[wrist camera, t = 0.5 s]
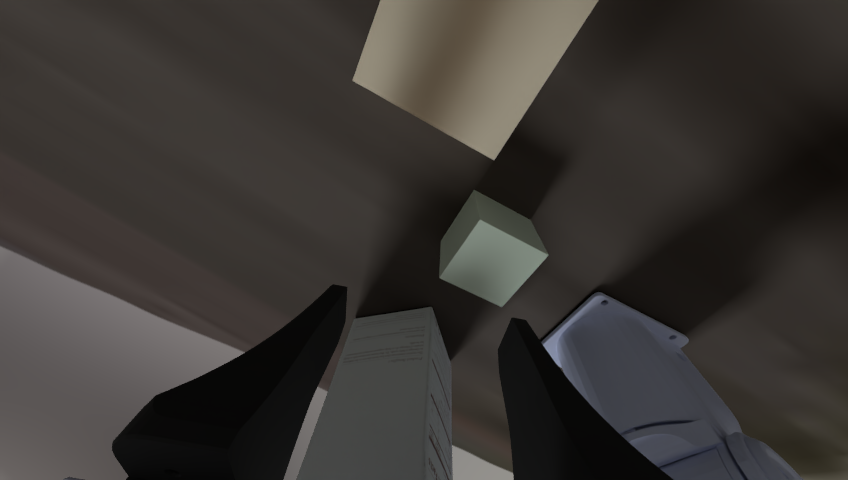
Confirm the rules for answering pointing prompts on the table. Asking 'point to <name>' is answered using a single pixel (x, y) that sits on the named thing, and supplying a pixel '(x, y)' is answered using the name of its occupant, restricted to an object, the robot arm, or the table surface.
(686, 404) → the robot arm
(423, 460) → the supplement box
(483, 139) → the beech base
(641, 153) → the table surface
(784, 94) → the table surface
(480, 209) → the sage cube
